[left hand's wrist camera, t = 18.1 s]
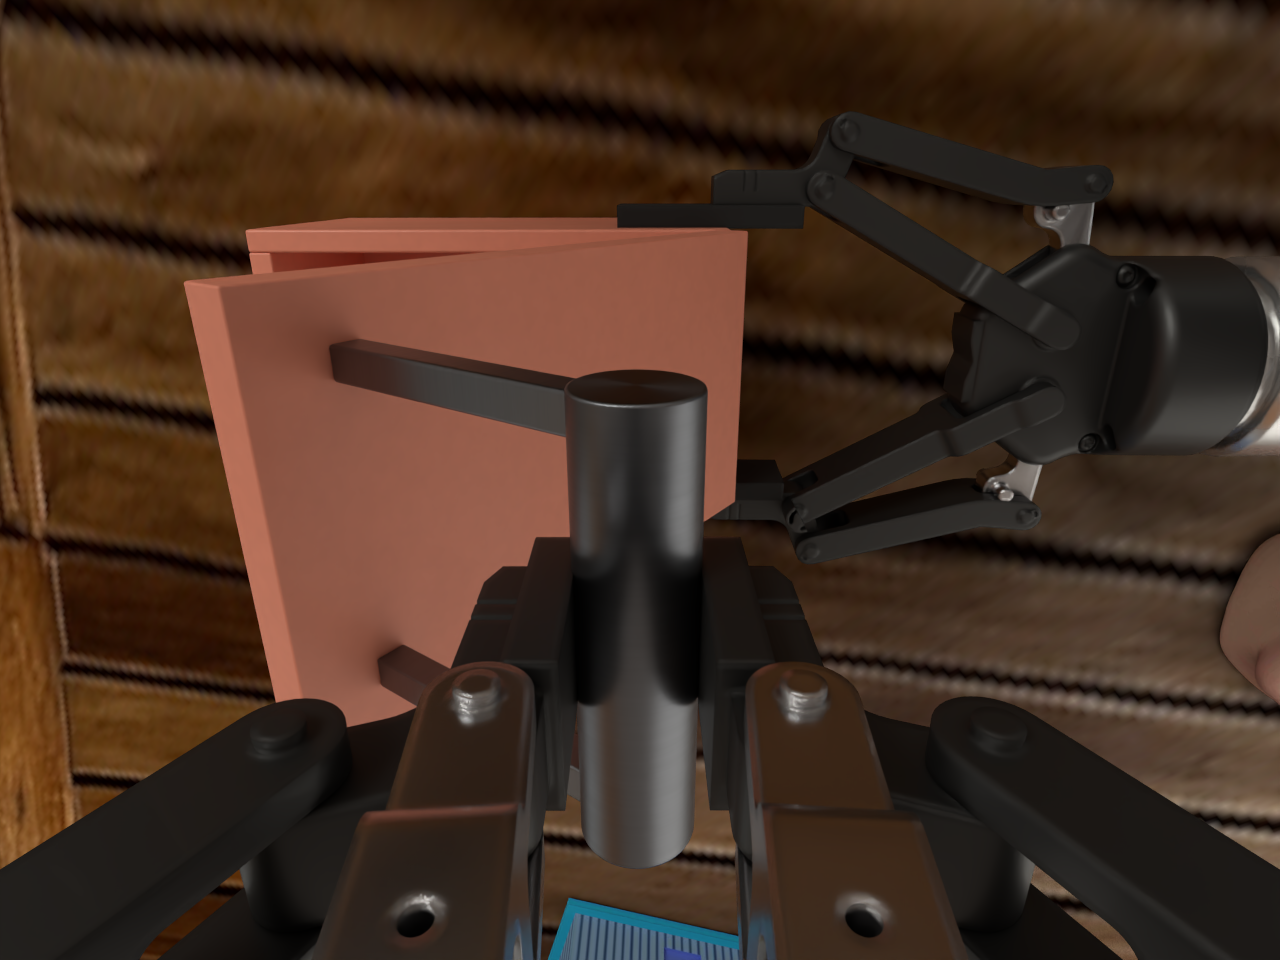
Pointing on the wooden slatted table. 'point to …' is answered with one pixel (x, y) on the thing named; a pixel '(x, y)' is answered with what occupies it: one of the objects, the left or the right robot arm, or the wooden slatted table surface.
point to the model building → (634, 937)
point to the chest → (422, 239)
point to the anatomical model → (1256, 620)
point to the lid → (490, 480)
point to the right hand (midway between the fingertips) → (620, 355)
